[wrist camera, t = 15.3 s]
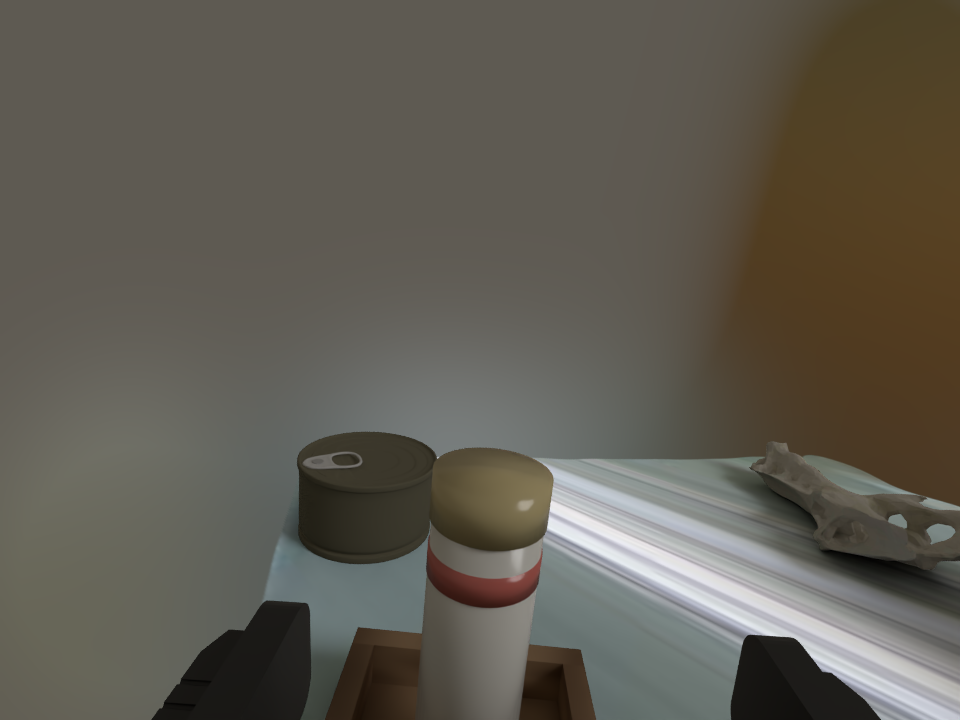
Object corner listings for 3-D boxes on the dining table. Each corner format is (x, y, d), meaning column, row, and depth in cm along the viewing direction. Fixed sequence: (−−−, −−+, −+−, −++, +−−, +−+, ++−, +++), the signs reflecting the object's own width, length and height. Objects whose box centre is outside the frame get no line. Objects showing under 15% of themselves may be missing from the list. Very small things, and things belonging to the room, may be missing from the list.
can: (452, 549, 44) (459, 476, 42) (308, 579, 38) (310, 496, 37) (406, 488, 54) (410, 427, 53) (287, 504, 49) (288, 437, 47)
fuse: (508, 746, 26) (546, 453, 23) (512, 856, 21) (561, 506, 18) (415, 737, 26) (439, 442, 23) (398, 844, 21) (425, 493, 18)
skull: (914, 534, 39) (732, 421, 63) (888, 623, 41) (721, 480, 65) (1059, 536, 40) (825, 424, 64) (1028, 623, 42) (812, 482, 66)
